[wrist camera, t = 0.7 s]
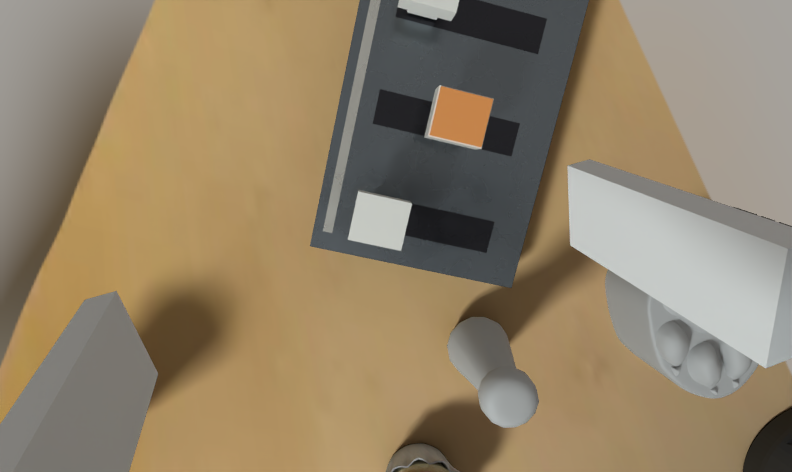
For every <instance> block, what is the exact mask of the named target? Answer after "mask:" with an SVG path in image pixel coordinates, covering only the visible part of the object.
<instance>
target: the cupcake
mask: <svg viewBox="0 0 792 472" xmlns="http://www.w3.org/2000/svg"><path fill="white" fill-rule="evenodd" d="M386 472H460V471H458V470H457V469H455V468H453V467H452V465H451V464H450V463H449V462H448V461H447V459H446V458H445V456H444V455H443V454H442V453H441V452H440V451H439V450H438V449H436V448H434V447H432V446H430V445H427V444H423V443H419V444H411V445H407V446H405V447H403V448H402V449H400V450H399V451H398V452H396V453H395V454H394V455H393V457H392V458H391V460H390V461H389V464H388V466H387V469H386Z"/></svg>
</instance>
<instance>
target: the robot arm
mask: <svg viewBox="0 0 792 472" xmlns="http://www.w3.org/2000/svg"><path fill="white" fill-rule="evenodd" d="M568 192H569V224H570V246H572V247H574V248H575V249H577V250H578V251H580V252H581V253H583V254H585V255H586V256H588V257H589V258H591V259H593V260H594V261H596V262H597V263H599V264H601V265H602V266H604V267H605V268H607V269H609V270H610V271H612V272H613V273H615V274H616V275H618V276H620V277H621V278H623V279H624V280H626V281H628V282H629V283H631V284H632V285H634V286H636V287H637V288H639V289H640V290H642V291H643V292H645V293H647V294H648V295H650V296H651V297H653V298H655V299H656V300H658V301H659V302H661V303H663V304H664V305H666V306H667V307H669V308H671V309H672V310H674V311H675V312H677V313H678V314H680V315H682V316H683V317H685V318H686V319H688V320H690V321H691V322H693V323H694V324H696V325H698V326H699V327H701V328H702V329H704V330H705V331H707V332H709V333H710V334H712V335H713V336H715V337H717V338H718V339H720V340H721V341H723V342H725V343H726V344H728V345H729V346H731V347H733V348H734V349H736V350H737V351H739V352H740V353H742V354H744V355H745V356H747V357H748V358H750V359H752V360H753V361H755V362H756V363H758V364H760V365H761V366H763V367H764V368H768V367H771V366H773V365H776V364H778V363H781V362H783V361H786V360H788V359H791V358H792V226H789V225H786V224H783V223H781V222H779V223H778V222H775V221H774V220H771V219H768V218H766V217H763V216H761V217H760V216H757V214H754V213H750V212H747V211H745V210H741V209H738V208H735V207H730V206H727V205H724V204H721V203H718V202H715V201H712V200H709V199H706V198H703V197H700V196H697V195H694V194H691V193H688V192H685V191H682V190H679V189H676V188H674V187H671V186H668V185H665V184H662V183H659V182H656V181H653V180H650V179H647V178H644V177H641V176H638V175H635V174H632V173H629V172H626V171H623V170H620V169H617V168H614V167H611V166H608V165H605V164H602V163H599V162H596V161H593V160H590V159H589V160H586V161H582V162H579V163H575V164H571V165H568ZM157 377H158V372H157V370H156V368H155V366H154V364H153V362H152V360H151V358H150V356H149V354H148V352H147V350H146V348H145V346H144V344H143V342H142V340H141V339H140V337H139V335H138V333H137V331H136V329H135V327H134V325H133V323H132V321H131V319H130V317H129V315H128V313H127V311H126V309H125V307H124V305H123V303H122V301H121V299H120V297H119V295H118V293H117V291H115V292H111V293H108V294H104V295H100V296H97V297H93V298H90V299H86V300H84V302H83V303H82V305H81V306H80V308H79V309H78V311H77V312H76V314H75V315H74V317H73V318H72V320H71V321H70V322H69V324H68V325H67V327H66V328H65V330H64V331H63V333H62V334H61V336H60V337H59V339H58V340H57V342H56V343H55V345H54V346H53V347H52V349H51V350H50V352H49V353H48V355H47V356H46V358H45V359H44V361H43V362H42V364H41V365H40V367H39V368H38V370H37V371H36V373H35V374H34V375H33V377H32V378H31V380H30V381H29V383H28V384H27V386H26V387H25V389H24V390H23V392H22V393H21V395H20V396H19V398H18V399H17V400H16V402H15V403H14V405H13V406H12V408H11V409H10V411H9V412H8V414H7V415H6V417H5V418H4V420H3V421H2V423H1V424H0V472H129V470H130V467H131V463H132V460H133V457H134V453H135V450H136V447H137V443H138V440H139V437H140V433H141V430H142V427H143V423H144V420H145V417H146V413H147V410H148V407H149V403H150V400H151V397H152V393H153V390H154V387H155V383H156V380H157ZM743 472H792V409H791V410H788V411H786V412H785V413H783V414H781V415H779V416H778V417H777V418H775V419H774V420H773V421H771V422H770V423H769V424H768V425H767V426H766V427H765V428H764V429H763V430H762V431H761V432H760V433H759V435H758V436H757V437H756V439H755V440H754V442H753V443H752V445H751V447H750V449H749V451H748V454H747V456H746V459H745V463H744V467H743Z"/></svg>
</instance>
